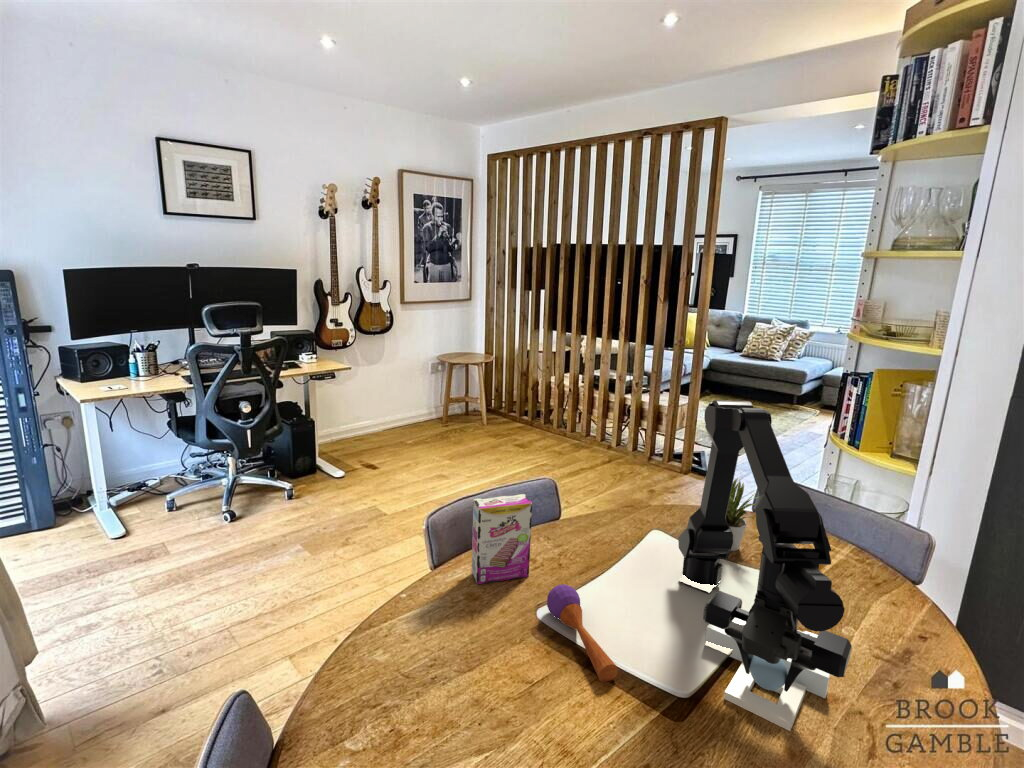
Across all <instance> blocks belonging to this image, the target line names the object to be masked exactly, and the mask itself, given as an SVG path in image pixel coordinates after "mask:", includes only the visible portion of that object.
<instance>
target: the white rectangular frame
mask: <svg viewBox="0 0 1024 768" xmlns="http://www.w3.org/2000/svg"><path fill="white" fill-rule="evenodd" d="M755 683H756V682H755V681H754V679H753V678H752V675H751V672H750V673H749V674H747V673H746V671H745V668H744V664H743V662H741V664H740V666H739V667H738V669H737V671H736V672H735V674H734V676H733V678H732V679H731V681H730V683H729V684H728V686H727V688H726V689H725V690H724V696H723V697H724V698H723V699H724V700H726V701H728V702H730V703H732V704H734V705H736V706H738V707H740V708H742V709H744V710H746V711H749V712H751V713H753V714H754V715H757V716H758V717H760V718H763V719H765V720H766V721H769V722H771V723H772V724H774V725H777V726H779V727H781V728H783V729H784V730H787V731H789V732H790V731H791V730H792V728H793V725H794V722H795V721H796V718H797V715H798V713H799V710H800V708H801V705H802V703H803V700H804V698H805V696H806V691H807V690H806V686H803V685H801V684H799V683H796V682H793V684H792V685H791V687H790V688H789V690H788V691H787V692H786V691H784V687H785V684H784V685H783V686H782V687H781V688H780V689H777V690H772V691H773V692H775V693H778V694H780V696H779V697H778V700H777V703H776V702H774V701H771V700H769V699H767V698H765V697H763V696H761V695H759V694H756V693H754V692H752V691H751V690H752V688H753V687H754V685H755ZM756 684H757V683H756Z"/></svg>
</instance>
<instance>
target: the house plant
mask: <svg viewBox="0 0 1024 768" xmlns="http://www.w3.org/2000/svg"><path fill="white" fill-rule="evenodd" d="M701 477H702V478H703V479H706V476H701ZM738 479H739V478H738V477H737V478H735V479H734V480H733V484H732V489H731V494H730V499H729V504H728V509H727V514H726V520H727V522H728V524H729V526H730V528H731V530H732V533H733V545H732V548H731V551H730V552H736V551H738V550H739V549H740V546H741V543H742V540H743V536H744V533H745V530H746V527H747V523H748V522H747V521H746V520H745V519H746V518H748V516H744V515H745V514H746V515H747V514H748V512H747V511H746V510H745V509H747V508H748V507H750V506H756V504H757V503H749V502H750V501H751V500H753V499H759V497H754V498H753V496H755V495H757V492H755V493H753V494H752V495H751V496H750V497H749V498H747V499H746V500H745V501H744V502H743V503H742V504H741V505H740V503H741V501H742V497H743V494H744V490H745V484H744V482H742V483H741V479H739V481H738ZM737 481H738V482H737ZM702 489H703V490H704V487H703V488H702ZM702 495H703V493H702ZM739 506H740V507H739ZM754 517H755V516H749V518H751V519H752V520H755V518H754Z"/></svg>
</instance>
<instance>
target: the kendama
mask: <svg viewBox="0 0 1024 768" xmlns="http://www.w3.org/2000/svg"><path fill="white" fill-rule="evenodd" d="M546 599H547V600H546V606H547V607H546V608H547V609H548V611H549V613H550V615H551V616H553V617H554V616H555V617H556V618H555V617H554V618H555V619H557V618H559V619H560V622H561V623H562V624H564V625H566V626H567V627H570V628H572V629H574V630H576V631H577V633H578V635H579V637H580V640H581V641H582V642H581V643H582V644H583V647H584V648H585V651H586V652H587V655H588V657H589V659H590V662H591V664H592V667H593V669H594V671H595V673H596V675H597V677H598V680H599V681H600V682H601V683H605V682H610V681H613V680H614V679H616V677H617V675H618V674H619V667H618V666H617V665H616V663H615V662H614V661H613V660H612V659H611V658H610V656H609V655H608V654H607V653H606V652H605V651H604V650H603V648H602V647H601V646H600V645H599V644H598V642H597V641H596V640H595V639H594V638H593V636H592V635H591V634H590V633H589V632H588V631H587V630H586V628H585V627H584V624H583V609H582V606H581V598H580V595H579V593H578V591H577V590H576V589H575V588H574V587H573V586H570V585H568V584H563V583H562V584H558V585H555V586H554V587H553V588H552V589H551V590H549V592H548V593H547V598H546ZM559 619H558V620H559Z"/></svg>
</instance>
